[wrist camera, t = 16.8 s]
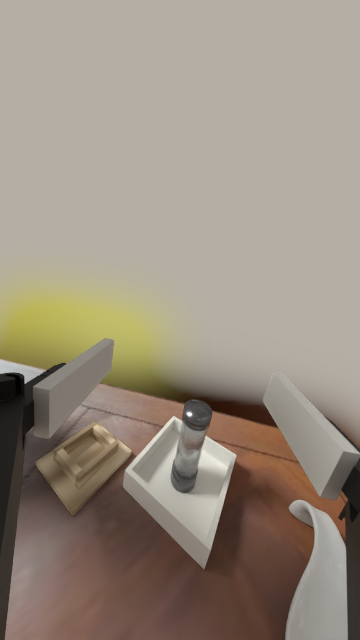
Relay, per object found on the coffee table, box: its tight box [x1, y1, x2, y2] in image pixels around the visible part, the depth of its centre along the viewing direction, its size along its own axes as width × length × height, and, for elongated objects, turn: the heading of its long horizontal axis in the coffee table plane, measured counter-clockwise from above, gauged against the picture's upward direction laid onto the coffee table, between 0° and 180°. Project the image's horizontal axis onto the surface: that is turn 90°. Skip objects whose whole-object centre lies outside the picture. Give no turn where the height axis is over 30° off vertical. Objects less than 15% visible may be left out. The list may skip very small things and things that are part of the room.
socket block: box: [36, 421, 132, 516], centre depth 34 cm, size 12×12×4 cm
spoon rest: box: [285, 500, 348, 640], centre depth 20 cm, size 24×12×7 cm, turn 156°
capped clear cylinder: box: [170, 400, 212, 493], centre depth 31 cm, size 5×5×16 cm
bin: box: [123, 416, 236, 569], centre depth 34 cm, size 16×16×4 cm
